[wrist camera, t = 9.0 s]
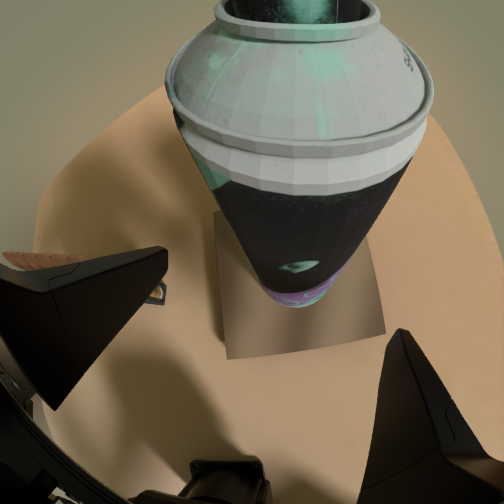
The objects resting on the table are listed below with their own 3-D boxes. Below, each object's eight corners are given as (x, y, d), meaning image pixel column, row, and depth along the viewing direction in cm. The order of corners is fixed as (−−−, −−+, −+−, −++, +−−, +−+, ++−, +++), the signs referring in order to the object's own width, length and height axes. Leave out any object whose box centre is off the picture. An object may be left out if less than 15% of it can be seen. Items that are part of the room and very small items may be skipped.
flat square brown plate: (233, 357, 22) (227, 359, 19) (220, 223, 26) (213, 212, 23) (376, 334, 21) (386, 333, 18) (348, 203, 24) (353, 190, 22)
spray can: (289, 323, 20) (233, 4, 1) (245, 265, 21) (85, -10, 2) (346, 277, 20) (510, 5, 1) (301, 224, 22) (299, -69, 3)
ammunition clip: (81, 294, 26) (-5, 264, 14) (84, 277, 26) (1, 242, 15) (164, 305, 24) (74, 274, 13) (167, 285, 24) (81, 242, 13)
